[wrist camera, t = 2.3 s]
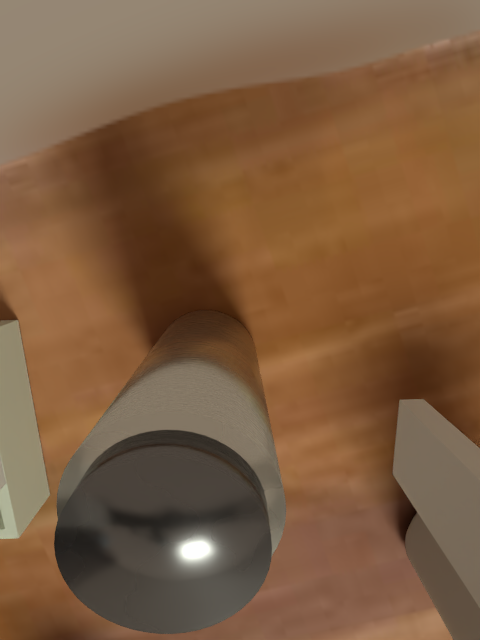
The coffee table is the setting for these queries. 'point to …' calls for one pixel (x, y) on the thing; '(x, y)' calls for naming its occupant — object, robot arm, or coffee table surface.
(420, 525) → the beverage can
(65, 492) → the shaker
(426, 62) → the coffee table surface
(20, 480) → the tray
